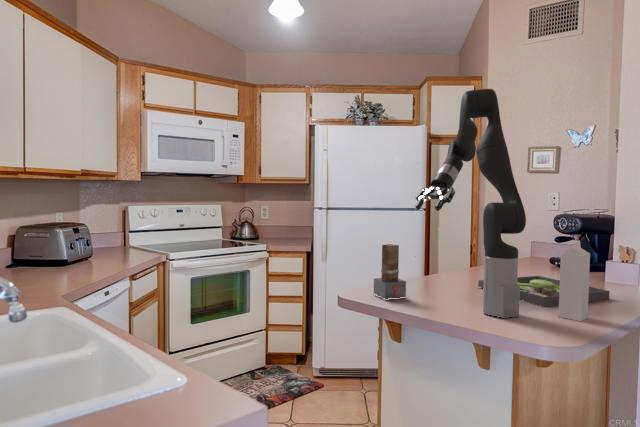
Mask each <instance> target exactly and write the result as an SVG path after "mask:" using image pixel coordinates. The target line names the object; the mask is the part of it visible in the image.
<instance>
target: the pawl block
mask: <svg viewBox="0 0 640 427" xmlns="http://www.w3.org/2000/svg"><path fill="white" fill-rule="evenodd" d="M406 292H407V281H406V280H404V279H400V278H398V280H396V281H386V280H382V277H378V278H377V277H376V278H375V277H374V278H373V294H374V293H375V294H377V295H378V296H381V297H382V298H385V299H388V298H400V297H406V298H407V293H406Z"/></svg>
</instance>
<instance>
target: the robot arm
mask: <svg viewBox="0 0 640 427" xmlns="http://www.w3.org/2000/svg"><path fill="white" fill-rule="evenodd" d="M497 96H498V95H497V93H496V91H495V90H494V89H492V88H481V89H480V88H479V89H472V90H467V91H465V92H464V93H463V95H462V97H461V101H460V110H459V111H460V112H459V122H458V123H459V124H458V129H457V130H458V131H457V134H456V137H455V139H453V140H452V141H451V142H450V143H449V146H448V150H447V156H446V158H445V160H444V162H443V163H442V165H441V167H440V168H439V169H438V171H437V172H436V173H435V175H434V177H433V178H432V180H431V182H430V186H429V187H428V188H425V187H424V186H423V187H421V188H420V190H419V191H418V193H417V194H416V195H415V199H416V201H417V202H416V203H415V209H416V210H417V211H420V210H421V208H422V206H423V205H424V203H426V202H429V201H431V200H438V201H437V203H436V204H435V205H434V208H435V211H437V212H439V211H441V209H442V208H443V206H444V205H446V204H449V203H451V202H452V200H453V199H454V196H455V194H456V190H455V189H454V187H453V185H454V183H455V182H456V180H457V179H458V176H459V173H460V172H461V171H462V169H463V167H464V163H463V162H465V163H466V162H467V163H468V162H471V161H472V160H473V159H474V158H475V156H476V159H477V163H478V169H479V171H480V173H481V174H482V175H483V177H484V178H485V180H487V181H488V182H489V183H490V184H491V186H493V187H494V188H495V190H496V191H497V192H498V194H499V196H500V198H501V200H502V202H489V203H487V204H486V205H485V207H484V209H483V216H482V217H483V218H482V225H483V227H482V228H483V249H484V263H483V265H484V266H483V267H484V268H483V269H484V270H483V280H484V290H483V297H482V298H483V302H482V305H483V306H482V313H483V312H484V313H486V314H488V315H487V316H489V315H492V316H491V317H493V316H497V317H496V318H499V317H502V318H501V319H503V318H504V319H510V318H509V317H512V318H518V317H517V316H519V317H520V301H521V300H520V291H521V289H520V285H519V284H517V277H518V274H519V272H518V268H519V266H518V265H519V249H518V247H516V246H514V245H511V244H508V243H506V242H505V241H504V240H503V239H502V235H505V234H506V235H508V234H509V235H513V234H514V235H515V234H520V233H522V232H524V230H525V228H526V225H527V224H526V223H527V216H526V211H525V207H524V204H523V201H522V199H521V196H520V193H519V191H518V187H517V184H516V181H515V177H514V173H513V169H512V165H511V158H510V154H509V151H508V150H509V149H508V146H507V143H506V140H505V135H504V131H503V126H502V120H501V114H500V107H499V100H498V97H497ZM479 118H480V119H481V118H487V122H488V123H487V126H486V129H485V131H484V133H483V135H482V136H481V138H480V140H479V142H478V143H477V145H476V139H477V138H478V127H477V125H476V123H475V122H474V121H473V120H472V119H479ZM484 313H483V314H484ZM486 314H485V315H486Z"/></svg>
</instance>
